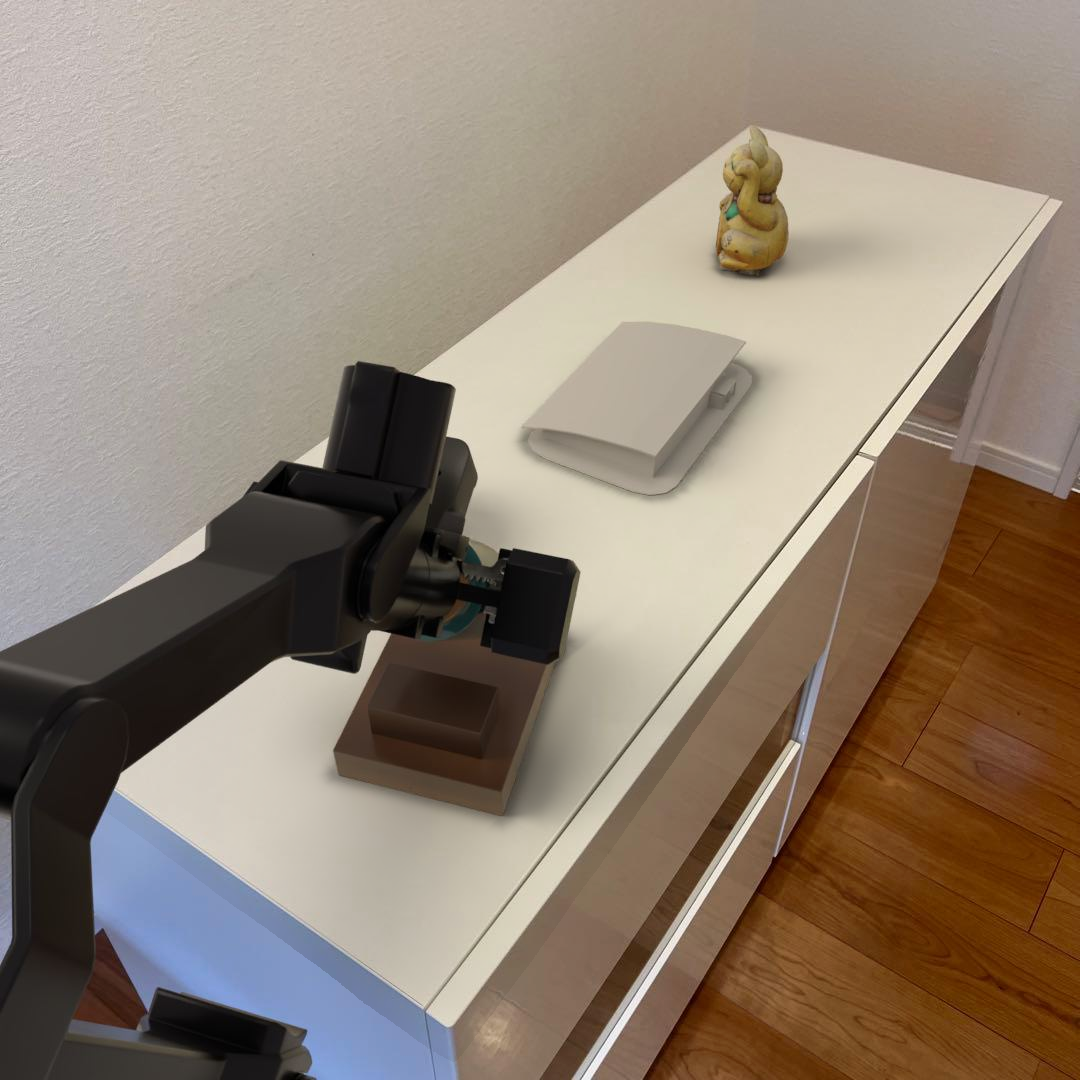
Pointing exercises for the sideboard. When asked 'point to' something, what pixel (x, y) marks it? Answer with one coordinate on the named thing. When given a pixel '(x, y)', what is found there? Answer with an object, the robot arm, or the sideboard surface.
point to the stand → (444, 721)
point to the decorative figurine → (752, 209)
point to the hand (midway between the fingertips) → (453, 587)
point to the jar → (466, 615)
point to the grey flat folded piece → (642, 405)
